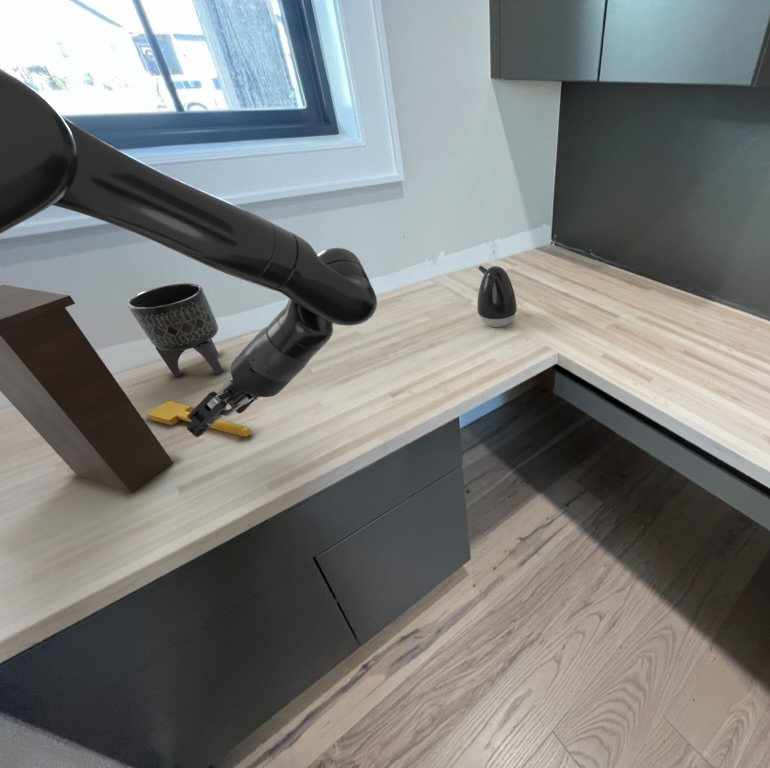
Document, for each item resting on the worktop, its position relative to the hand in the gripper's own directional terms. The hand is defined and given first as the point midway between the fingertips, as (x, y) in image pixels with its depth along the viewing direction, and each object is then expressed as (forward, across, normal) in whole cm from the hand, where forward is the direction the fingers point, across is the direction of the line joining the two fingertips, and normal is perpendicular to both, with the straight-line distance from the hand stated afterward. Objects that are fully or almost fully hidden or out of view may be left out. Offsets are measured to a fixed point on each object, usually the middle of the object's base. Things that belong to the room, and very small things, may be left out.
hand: (215, 419), depth 67 cm
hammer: (+13, -10, -3) cm, 17 cm away
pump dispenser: (-31, -54, +20) cm, 66 cm away
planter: (+22, -27, -16) cm, 38 cm away
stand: (+19, +2, -4) cm, 20 cm away
